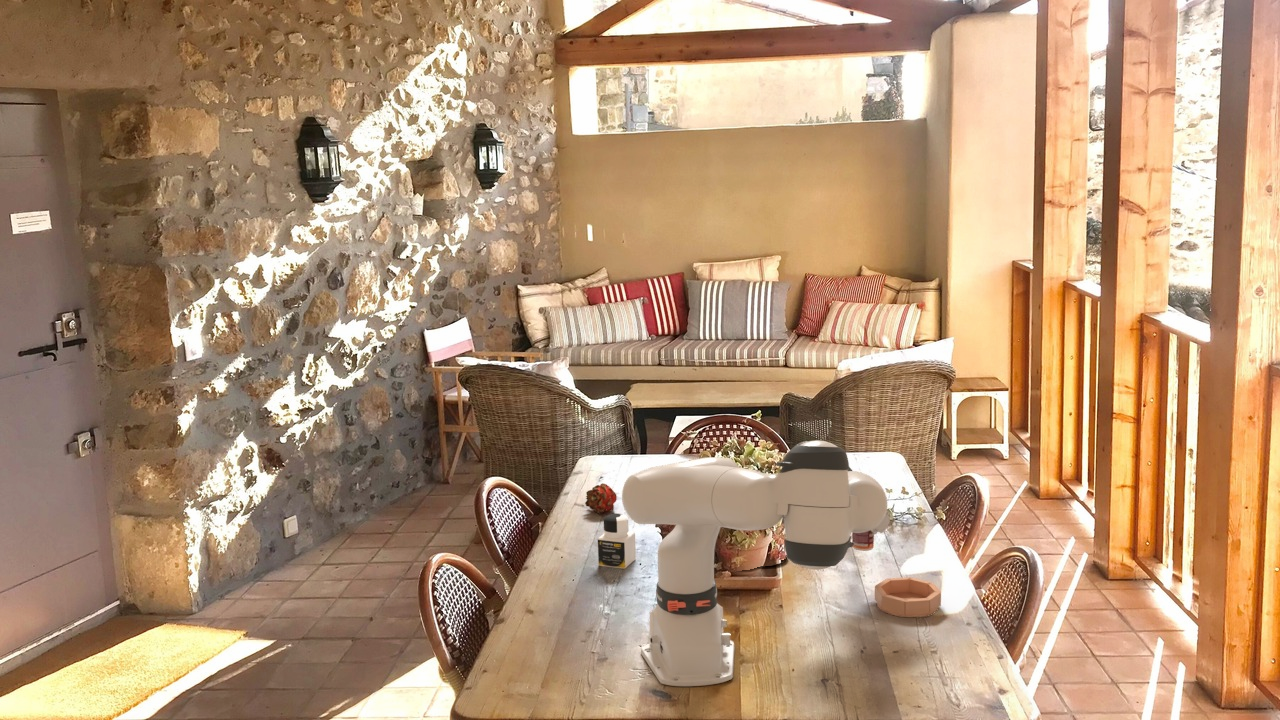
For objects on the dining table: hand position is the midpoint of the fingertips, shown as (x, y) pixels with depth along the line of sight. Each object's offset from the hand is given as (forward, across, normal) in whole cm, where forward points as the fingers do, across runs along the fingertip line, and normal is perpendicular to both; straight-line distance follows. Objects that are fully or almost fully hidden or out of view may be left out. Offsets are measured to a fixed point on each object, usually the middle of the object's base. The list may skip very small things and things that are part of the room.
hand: (865, 526), depth 247 cm
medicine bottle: (-14, -48, -36) cm, 62 cm away
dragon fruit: (-1, -85, -23) cm, 88 cm away
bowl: (+10, +13, -10) cm, 19 cm away
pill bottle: (+3, 0, -4) cm, 5 cm away
